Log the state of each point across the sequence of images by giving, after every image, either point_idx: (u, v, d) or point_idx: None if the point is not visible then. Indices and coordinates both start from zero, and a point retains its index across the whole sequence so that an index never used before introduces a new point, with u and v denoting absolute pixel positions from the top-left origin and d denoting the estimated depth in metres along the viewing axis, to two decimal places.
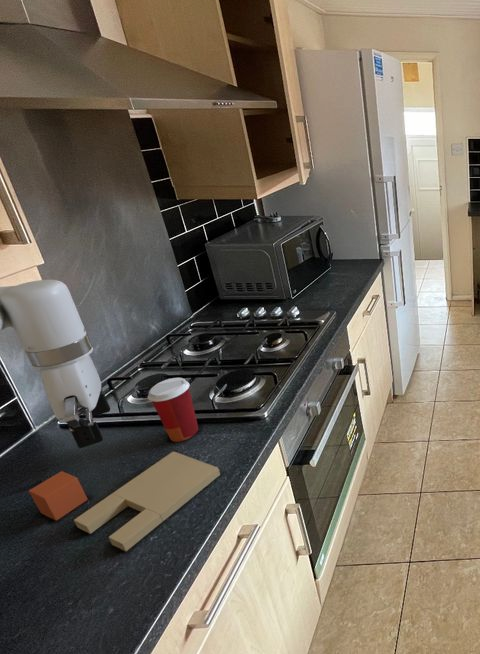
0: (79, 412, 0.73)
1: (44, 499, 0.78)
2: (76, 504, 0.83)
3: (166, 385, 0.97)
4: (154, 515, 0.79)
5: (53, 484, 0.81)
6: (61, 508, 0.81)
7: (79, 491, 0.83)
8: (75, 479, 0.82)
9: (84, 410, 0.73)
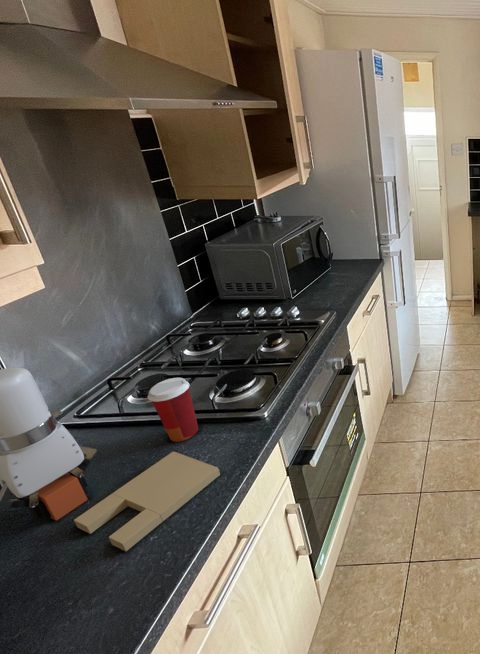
0: None
1: (44, 499, 0.78)
2: (76, 504, 0.83)
3: (166, 385, 0.97)
4: (154, 515, 0.79)
5: (53, 484, 0.81)
6: (61, 508, 0.81)
7: (79, 491, 0.83)
8: (75, 479, 0.82)
9: None
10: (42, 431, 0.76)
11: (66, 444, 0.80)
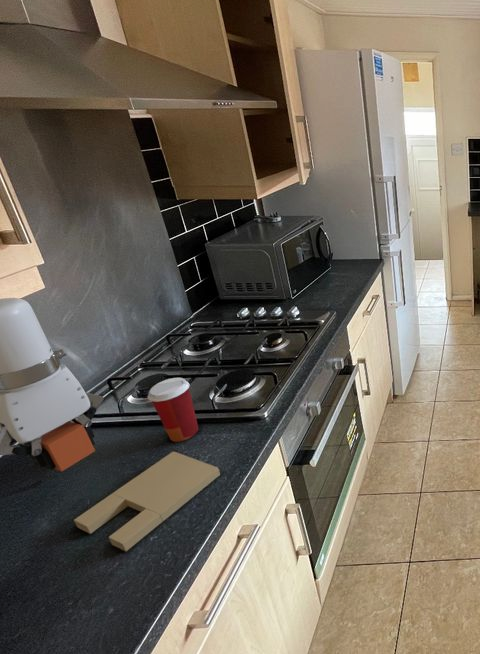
0: None
1: (48, 446, 0.71)
2: (83, 455, 0.75)
3: (166, 385, 0.97)
4: (154, 515, 0.79)
5: (57, 432, 0.73)
6: (67, 458, 0.73)
7: (86, 441, 0.76)
8: (81, 427, 0.75)
9: None
10: (44, 369, 0.68)
11: (71, 387, 0.73)
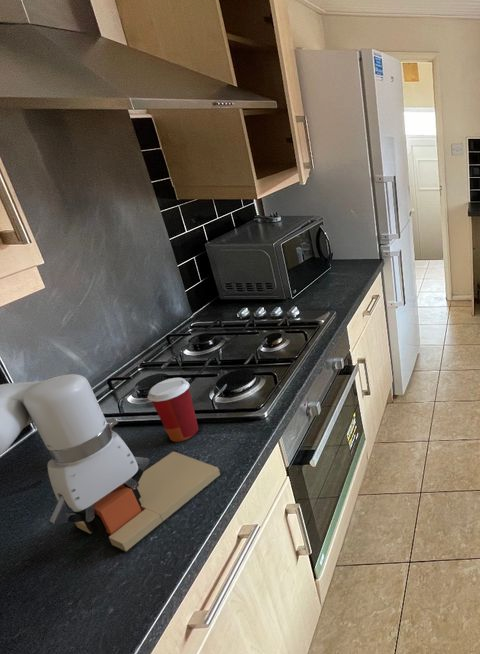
0: None
1: (100, 513, 0.74)
2: (131, 517, 0.79)
3: (166, 385, 0.97)
4: (154, 515, 0.79)
5: (108, 496, 0.77)
6: (116, 522, 0.77)
7: (134, 503, 0.79)
8: (130, 491, 0.78)
9: None
10: (100, 441, 0.72)
11: (122, 454, 0.76)
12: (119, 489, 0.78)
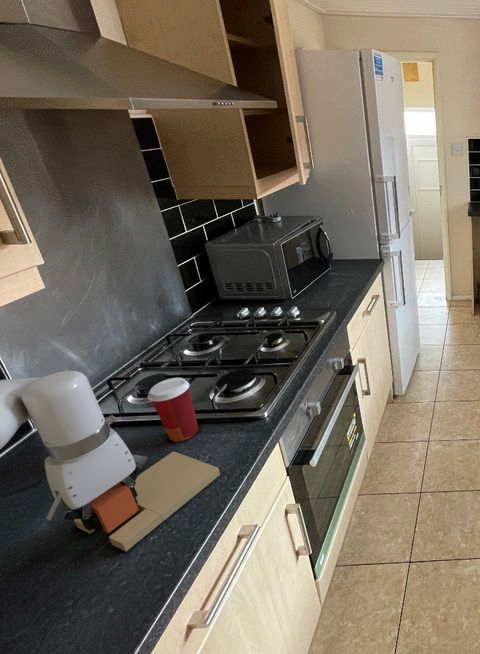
0: None
1: (97, 510, 0.74)
2: (128, 515, 0.78)
3: (166, 385, 0.97)
4: (154, 515, 0.79)
5: (105, 494, 0.76)
6: (113, 520, 0.76)
7: (131, 501, 0.79)
8: (127, 489, 0.78)
9: None
10: (97, 439, 0.71)
11: (119, 452, 0.76)
12: (116, 487, 0.78)
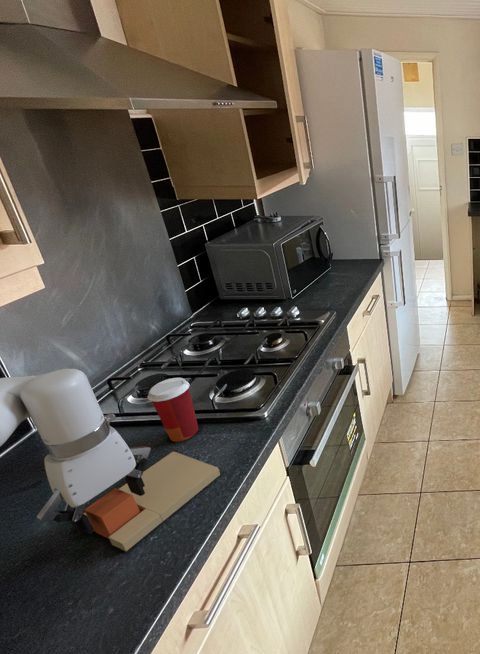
0: None
1: (101, 519, 0.75)
2: None
3: (166, 385, 0.97)
4: (154, 515, 0.79)
5: (109, 502, 0.77)
6: (117, 527, 0.77)
7: (134, 509, 0.79)
8: (131, 497, 0.78)
9: None
10: (97, 436, 0.71)
11: (119, 450, 0.76)
12: (120, 495, 0.79)
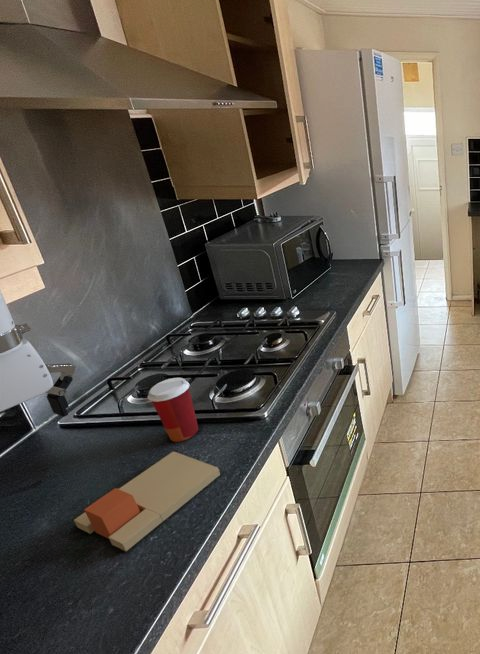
0: None
1: (101, 519, 0.75)
2: None
3: (166, 385, 0.97)
4: (154, 515, 0.79)
5: (109, 502, 0.77)
6: (117, 527, 0.77)
7: (134, 509, 0.79)
8: (131, 497, 0.78)
9: None
10: (3, 343, 0.65)
11: (32, 364, 0.69)
12: (120, 495, 0.79)
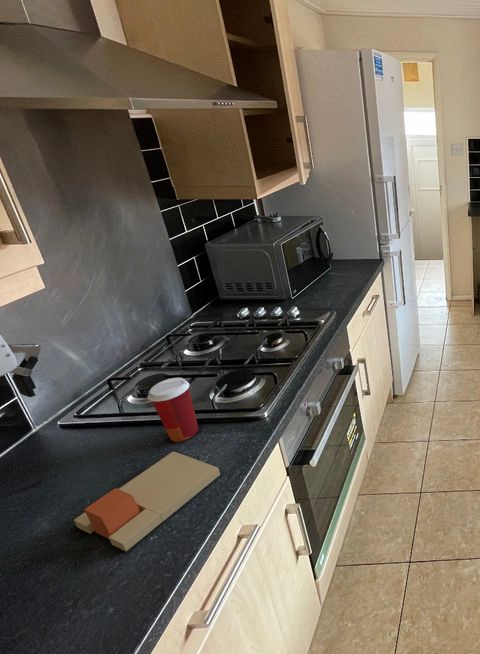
0: None
1: (101, 519, 0.74)
2: None
3: (166, 385, 0.97)
4: (154, 515, 0.79)
5: (109, 502, 0.77)
6: (117, 527, 0.77)
7: (134, 509, 0.79)
8: (131, 497, 0.78)
9: None
10: None
11: None
12: (120, 495, 0.79)
